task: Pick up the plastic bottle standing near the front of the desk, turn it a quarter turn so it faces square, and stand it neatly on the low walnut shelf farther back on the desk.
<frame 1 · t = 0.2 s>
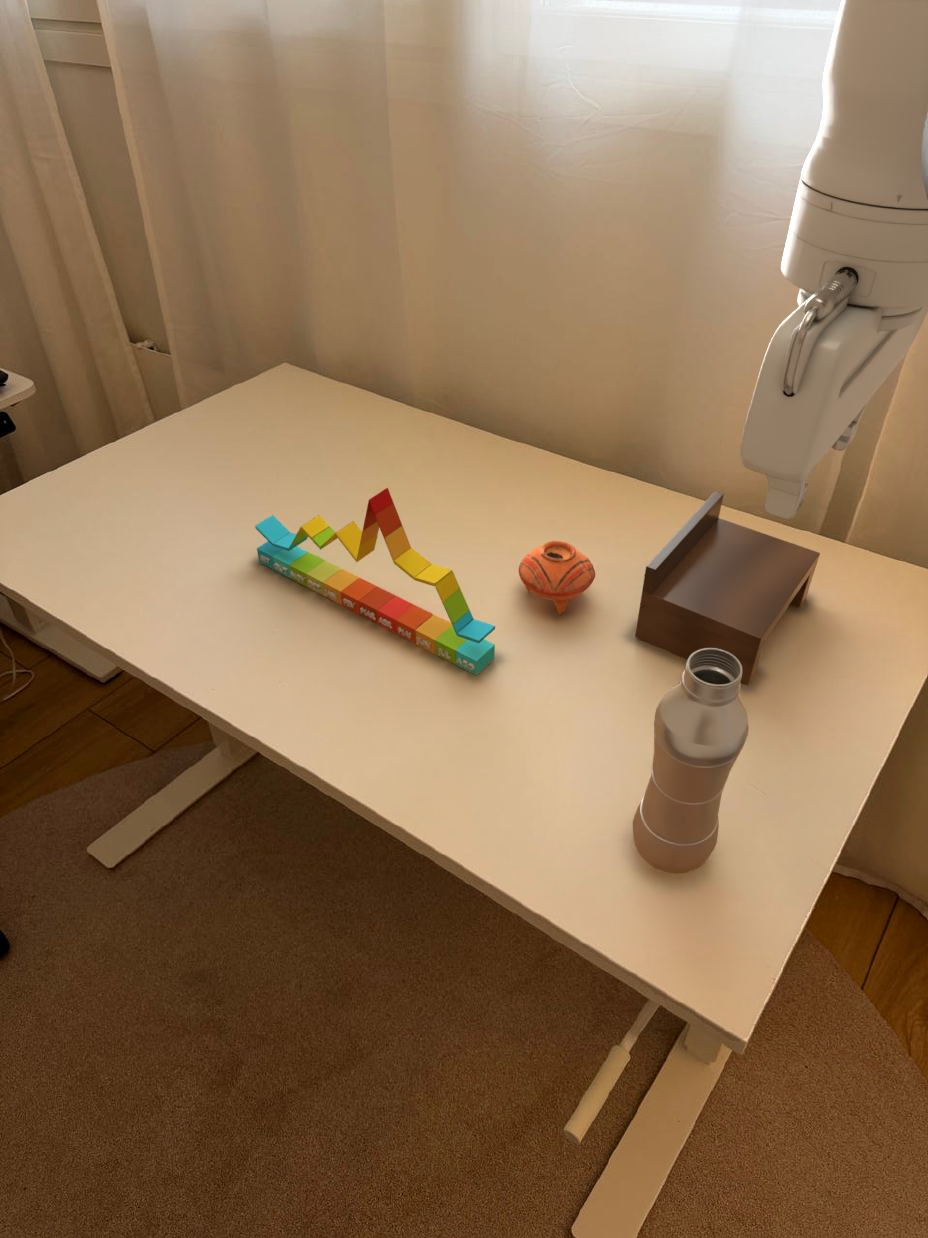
hand: (809, 475, 55), 31 cm above the table, tool pointing down, fingers open, 8 cm apart
chart: (368, 609, 94), on the table
shelf: (722, 617, 92), on the table
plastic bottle: (669, 850, 71), on the table
pot: (554, 597, 95), on the table
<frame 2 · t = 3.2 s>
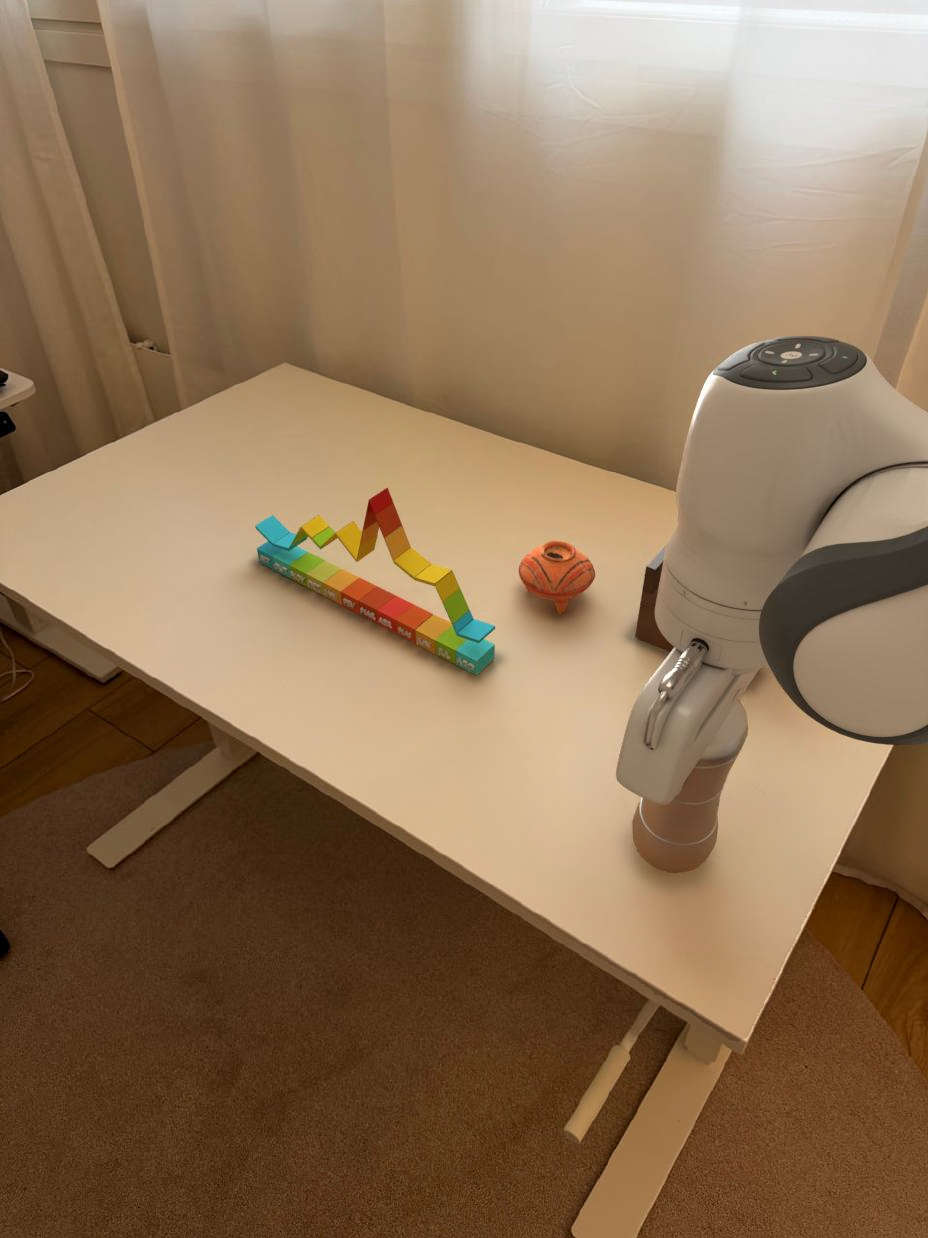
hand: (693, 750, 64), 12 cm above the table, tool pointing down, fingers closed on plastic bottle, 6 cm apart
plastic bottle: (669, 849, 71), on the table, touching gripper
everything else where it was.
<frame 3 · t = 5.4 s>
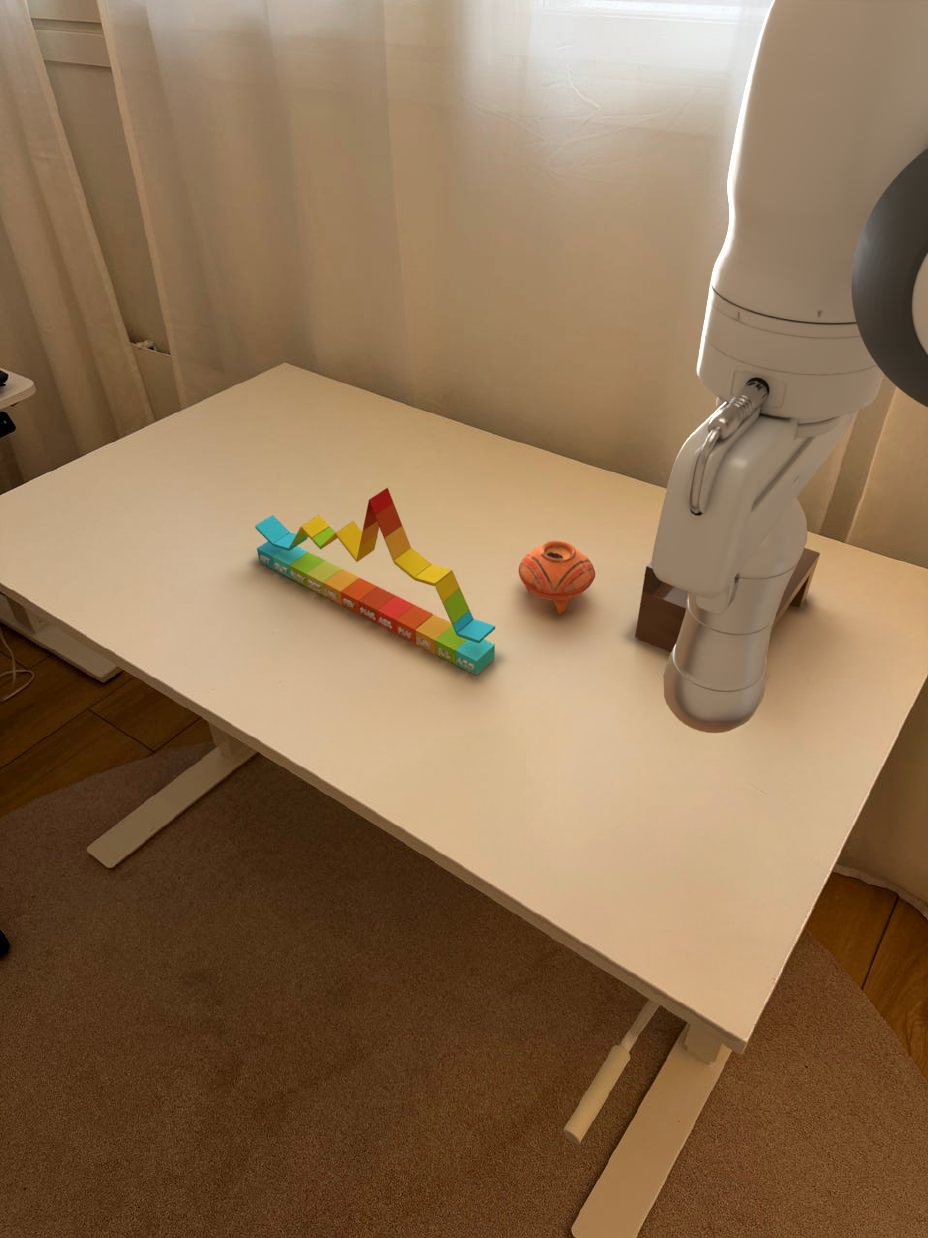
hand: (740, 570, 53), 28 cm above the table, tool pointing down, fingers closed on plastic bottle, 6 cm apart
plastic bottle: (706, 711, 60), point 16 cm above the table, touching gripper
everything else where it was.
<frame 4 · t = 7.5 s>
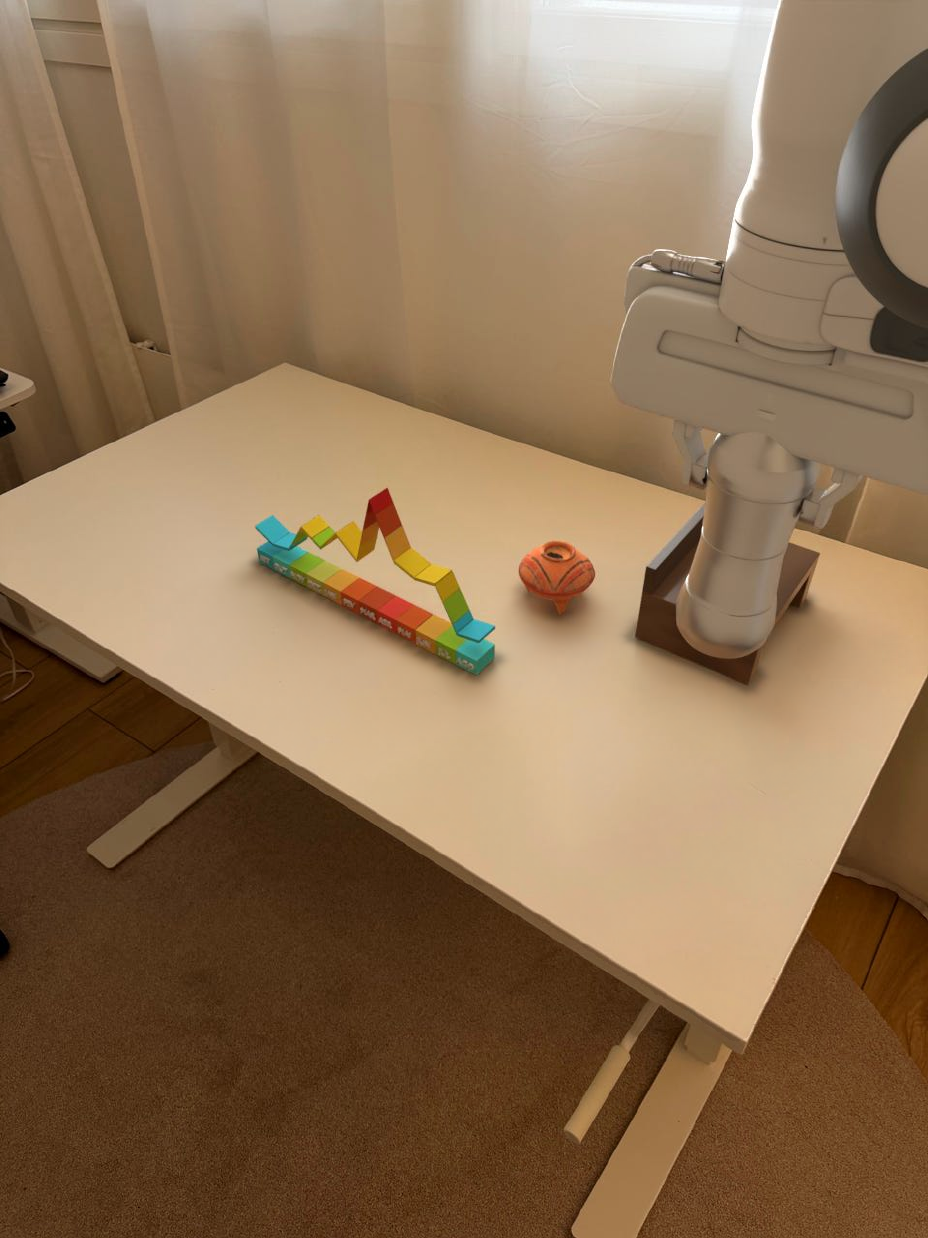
hand: (754, 501, 56), 29 cm above the table, tool pointing down, fingers closed on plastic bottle, 6 cm apart
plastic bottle: (718, 641, 64), point 17 cm above the table, touching gripper
everything else where it was.
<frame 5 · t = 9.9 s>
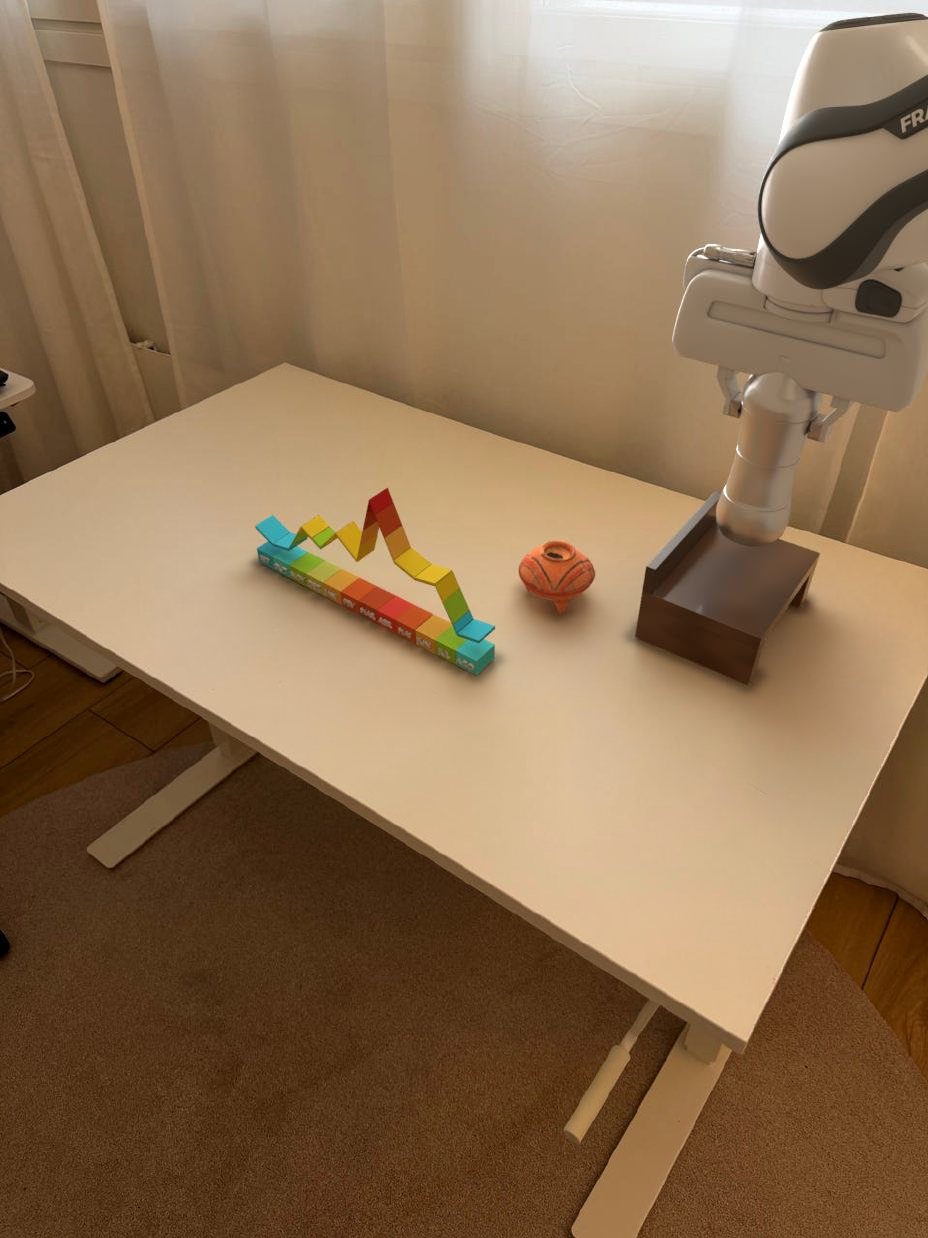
hand: (775, 426, 78), 22 cm above the table, tool pointing down, fingers closed on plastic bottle, 6 cm apart
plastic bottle: (747, 537, 85), point 10 cm above the table, touching gripper
everything else where it was.
when the fingers open (18 cm above the table, at t = 11.8 s): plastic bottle stays where it is, resting on shelf.
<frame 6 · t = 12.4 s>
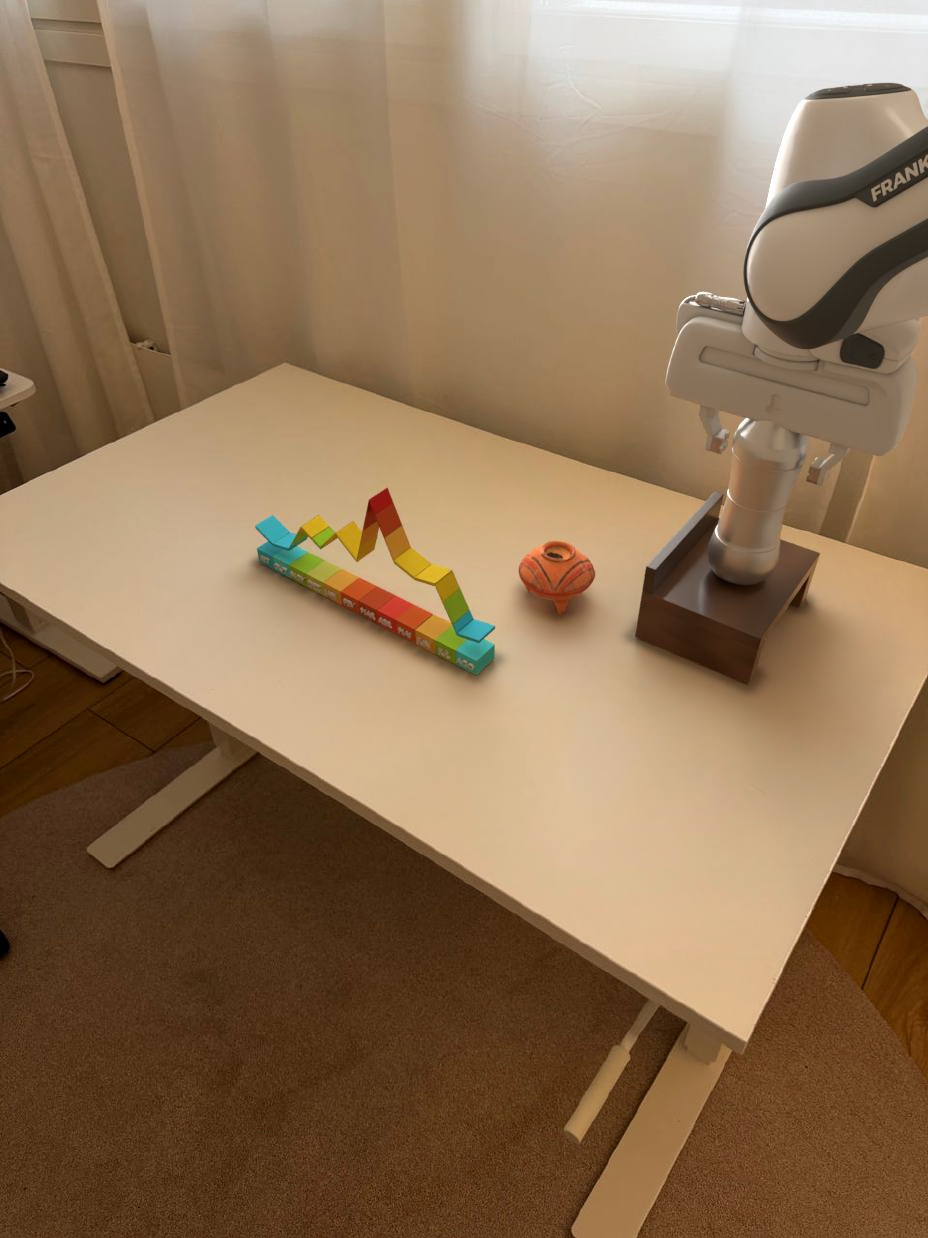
hand: (764, 465, 80), 18 cm above the table, tool pointing down, fingers open, 8 cm apart
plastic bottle: (737, 575, 88), point 6 cm above the table, touching shelf
everything else where it was.
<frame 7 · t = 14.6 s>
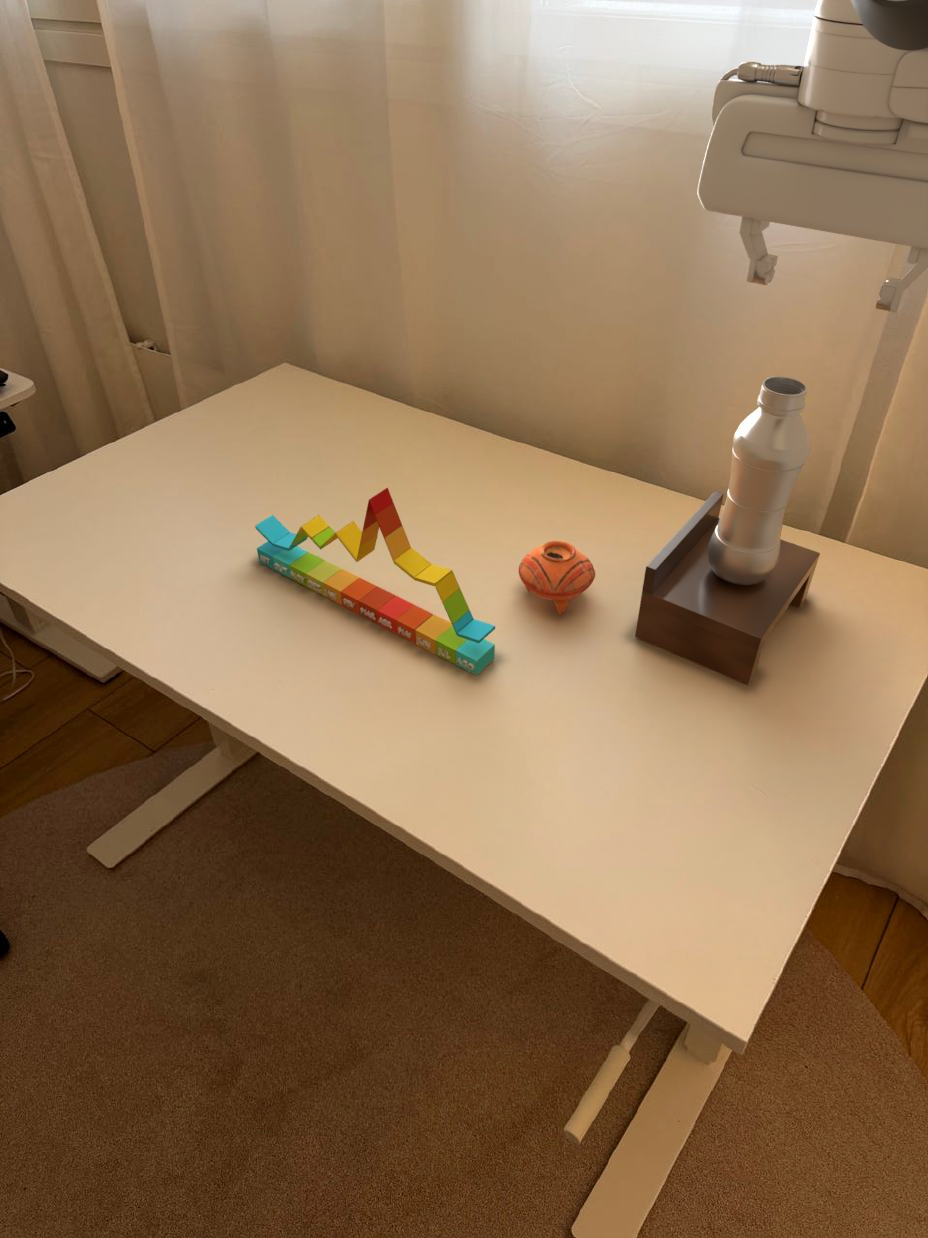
hand: (821, 294, 65), 36 cm above the table, tool pointing down, fingers open, 8 cm apart
nothing on the table moved.
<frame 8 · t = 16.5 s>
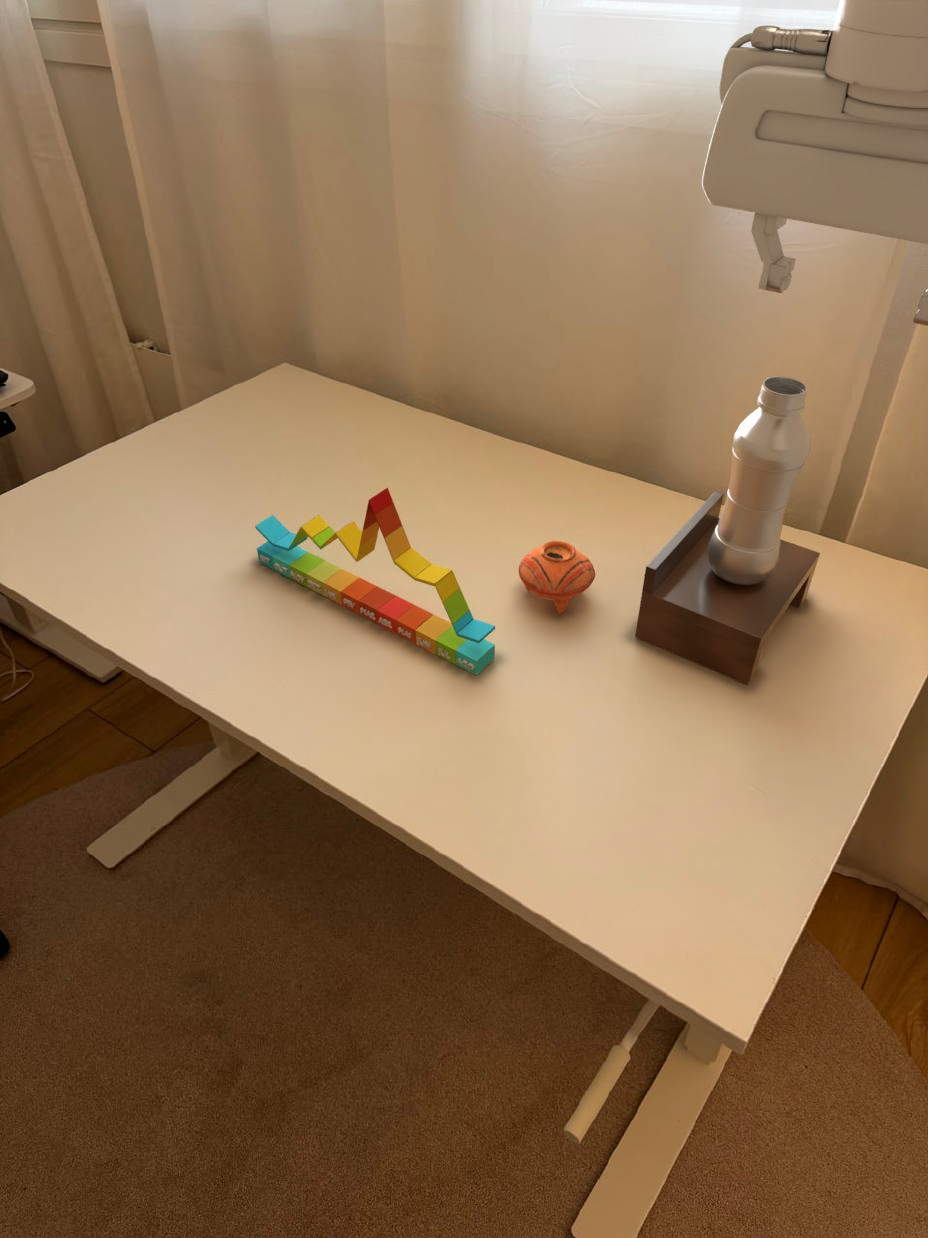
hand: (848, 305, 55), 39 cm above the table, tool pointing down, fingers open, 8 cm apart
nothing on the table moved.
at the end: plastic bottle inside the target area on the shelf (0.5 cm from its centre), point 5.8 cm above the shelf's base; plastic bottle tilted 0°; the gripper is holding nothing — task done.
